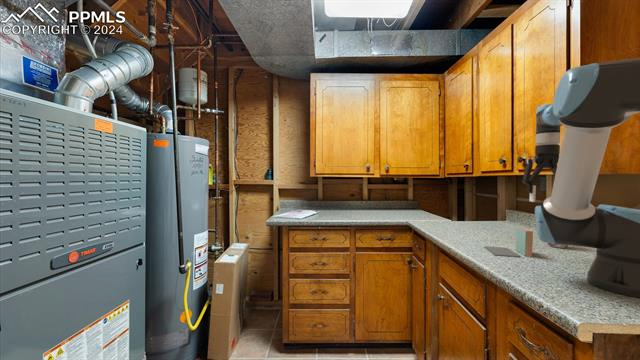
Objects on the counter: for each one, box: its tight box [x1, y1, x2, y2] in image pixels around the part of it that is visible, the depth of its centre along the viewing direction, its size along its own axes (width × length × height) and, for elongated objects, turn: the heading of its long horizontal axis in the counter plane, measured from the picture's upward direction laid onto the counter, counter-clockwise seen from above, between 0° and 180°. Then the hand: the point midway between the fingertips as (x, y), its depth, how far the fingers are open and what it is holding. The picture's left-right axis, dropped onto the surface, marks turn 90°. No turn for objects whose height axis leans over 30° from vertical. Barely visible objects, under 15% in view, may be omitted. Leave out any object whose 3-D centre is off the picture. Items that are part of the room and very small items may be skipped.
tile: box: [515, 226, 534, 258], centre depth 110 cm, size 8×2×10 cm, turn 167°
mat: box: [483, 246, 522, 258], centre depth 112 cm, size 12×9×1 cm
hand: (545, 201), depth 108 cm, fingers open, 8 cm apart
